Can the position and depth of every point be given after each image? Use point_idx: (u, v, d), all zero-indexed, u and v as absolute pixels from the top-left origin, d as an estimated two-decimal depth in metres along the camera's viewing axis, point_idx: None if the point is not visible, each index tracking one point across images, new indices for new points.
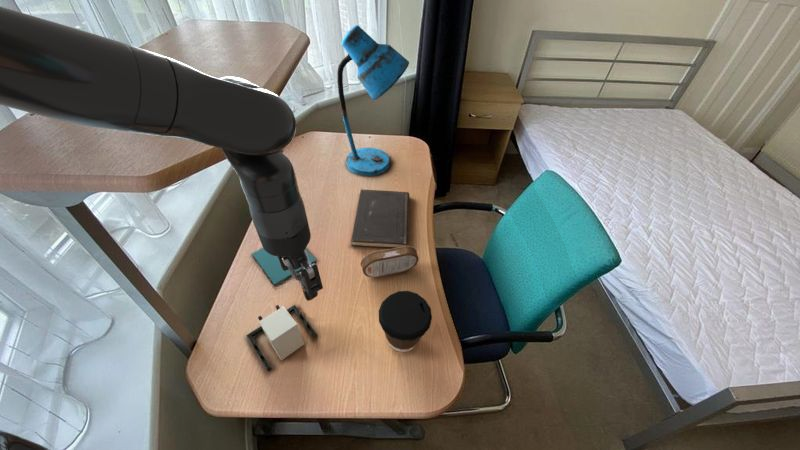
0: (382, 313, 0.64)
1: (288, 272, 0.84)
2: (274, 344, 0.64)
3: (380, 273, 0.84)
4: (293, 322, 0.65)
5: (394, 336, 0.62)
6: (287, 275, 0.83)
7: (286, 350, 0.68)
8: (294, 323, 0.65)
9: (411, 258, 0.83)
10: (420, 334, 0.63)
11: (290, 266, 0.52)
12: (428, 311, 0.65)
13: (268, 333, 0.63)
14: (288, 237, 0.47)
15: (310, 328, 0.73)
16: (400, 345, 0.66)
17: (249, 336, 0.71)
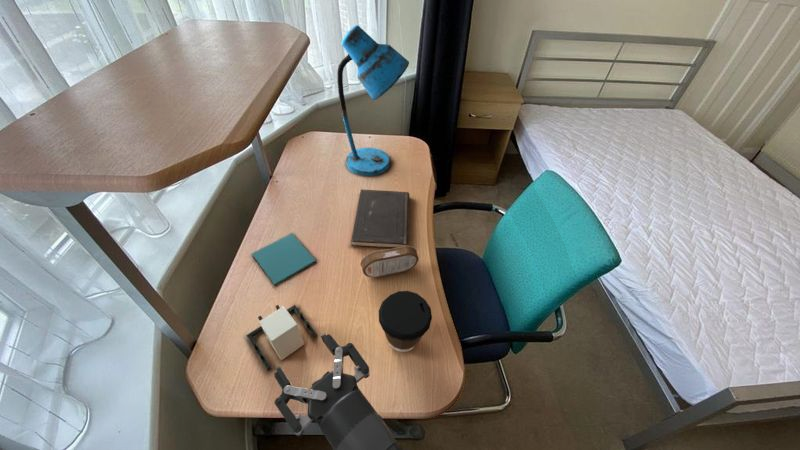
0: (382, 313, 0.64)
1: (288, 272, 0.84)
2: (274, 344, 0.64)
3: (380, 273, 0.84)
4: (293, 322, 0.65)
5: (394, 336, 0.62)
6: (287, 275, 0.83)
7: (286, 350, 0.68)
8: (294, 323, 0.65)
9: (411, 258, 0.83)
10: (420, 334, 0.63)
11: None
12: (428, 311, 0.65)
13: (268, 333, 0.63)
14: None
15: (310, 328, 0.73)
16: (400, 345, 0.66)
17: (249, 336, 0.71)
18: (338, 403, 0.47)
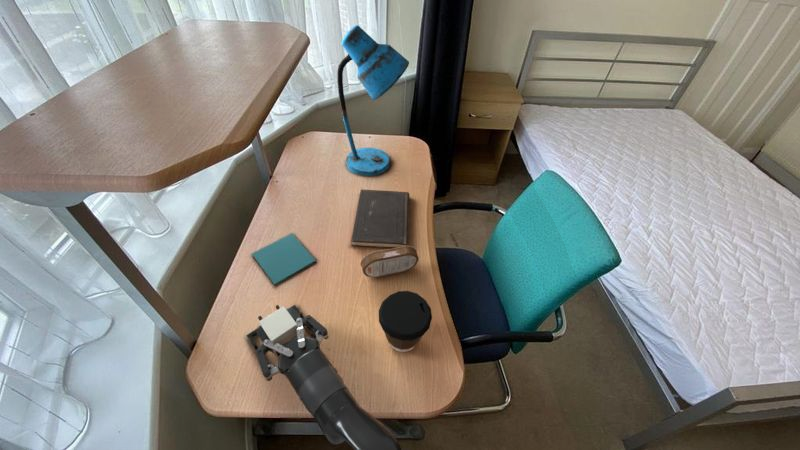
0: (382, 313, 0.64)
1: (288, 272, 0.84)
2: None
3: (380, 273, 0.84)
4: (293, 322, 0.65)
5: (394, 336, 0.62)
6: (287, 275, 0.83)
7: None
8: (294, 323, 0.65)
9: (411, 258, 0.83)
10: (420, 334, 0.63)
11: None
12: (428, 311, 0.65)
13: (268, 333, 0.63)
14: None
15: (310, 328, 0.73)
16: (400, 345, 0.66)
17: (249, 336, 0.71)
18: (301, 357, 0.59)
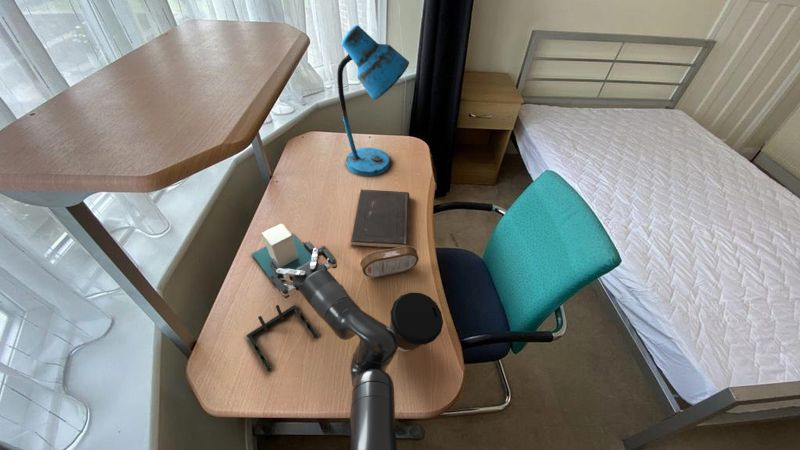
0: (396, 314, 0.63)
1: None
2: (273, 250, 0.80)
3: (380, 273, 0.84)
4: (289, 233, 0.81)
5: (407, 339, 0.61)
6: None
7: (283, 259, 0.84)
8: (290, 234, 0.81)
9: (411, 258, 0.83)
10: (432, 339, 0.62)
11: None
12: (440, 316, 0.65)
13: (269, 240, 0.80)
14: None
15: (310, 328, 0.73)
16: (407, 346, 0.66)
17: (249, 336, 0.71)
18: (312, 274, 0.70)
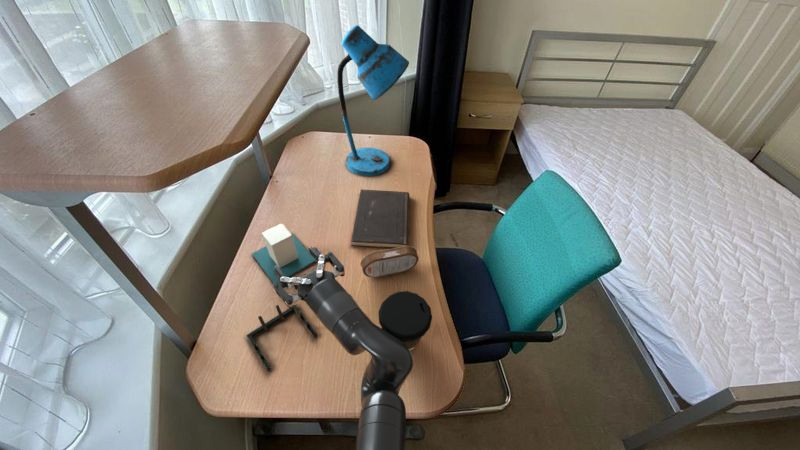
0: (382, 314, 0.64)
1: (288, 272, 0.84)
2: (273, 250, 0.80)
3: (380, 273, 0.84)
4: (289, 233, 0.81)
5: None
6: (287, 275, 0.83)
7: (283, 259, 0.84)
8: (290, 234, 0.81)
9: (411, 258, 0.83)
10: (421, 334, 0.63)
11: None
12: (428, 311, 0.65)
13: (269, 240, 0.80)
14: None
15: (310, 328, 0.73)
16: None
17: (249, 336, 0.71)
18: (319, 283, 0.65)
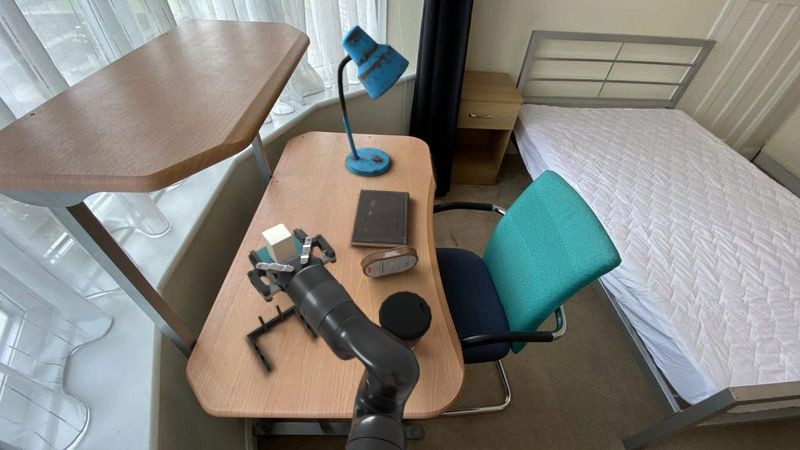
0: (382, 314, 0.64)
1: None
2: (273, 250, 0.80)
3: (380, 273, 0.84)
4: (289, 233, 0.81)
5: None
6: None
7: (283, 259, 0.84)
8: (290, 234, 0.81)
9: (411, 258, 0.83)
10: (421, 334, 0.63)
11: None
12: (428, 311, 0.65)
13: (269, 240, 0.80)
14: None
15: (310, 328, 0.73)
16: None
17: (249, 336, 0.71)
18: (303, 270, 0.52)
